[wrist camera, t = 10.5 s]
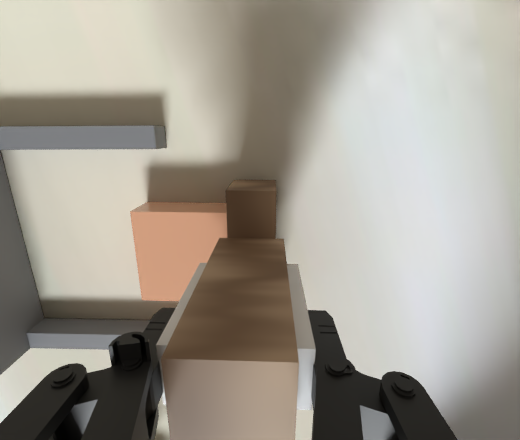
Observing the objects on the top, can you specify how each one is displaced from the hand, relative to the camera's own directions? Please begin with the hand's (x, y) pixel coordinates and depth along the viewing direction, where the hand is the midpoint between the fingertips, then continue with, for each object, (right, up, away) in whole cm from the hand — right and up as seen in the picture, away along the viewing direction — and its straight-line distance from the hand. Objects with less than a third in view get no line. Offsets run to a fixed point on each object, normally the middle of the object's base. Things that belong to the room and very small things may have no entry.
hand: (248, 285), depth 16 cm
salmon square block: (-5, +2, +7) cm, 9 cm away
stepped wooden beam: (0, +2, +6) cm, 6 cm away
